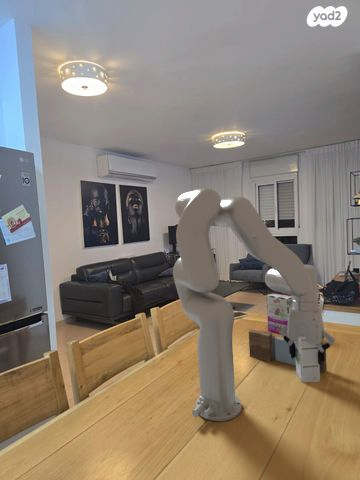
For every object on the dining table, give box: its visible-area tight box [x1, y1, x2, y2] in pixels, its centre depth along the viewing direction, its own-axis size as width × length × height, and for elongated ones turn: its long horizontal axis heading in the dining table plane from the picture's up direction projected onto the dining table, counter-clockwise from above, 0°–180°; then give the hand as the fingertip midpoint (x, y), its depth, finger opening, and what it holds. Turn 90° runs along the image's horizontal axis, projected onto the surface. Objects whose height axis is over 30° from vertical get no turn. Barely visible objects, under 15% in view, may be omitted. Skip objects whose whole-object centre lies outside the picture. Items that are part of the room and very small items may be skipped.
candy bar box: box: [266, 292, 292, 335], centre depth 137 cm, size 11×5×16 cm, turn 37°
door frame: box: [248, 329, 328, 375], centre depth 109 cm, size 3×26×10 cm, turn 53°
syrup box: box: [295, 336, 321, 383], centre depth 99 cm, size 6×6×14 cm
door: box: [272, 334, 296, 366], centre depth 108 cm, size 2×13×9 cm, turn 52°
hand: (306, 359), depth 99 cm, fingers closed on syrup box, 7 cm apart
